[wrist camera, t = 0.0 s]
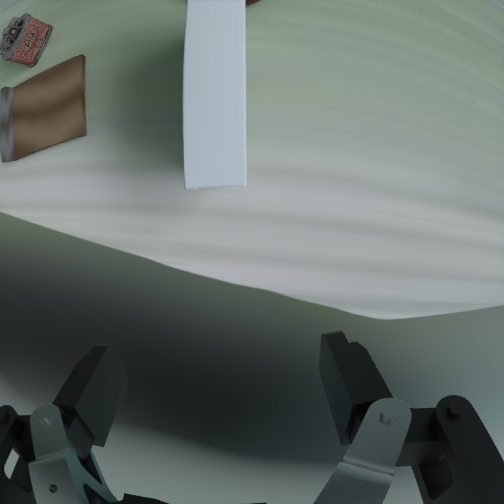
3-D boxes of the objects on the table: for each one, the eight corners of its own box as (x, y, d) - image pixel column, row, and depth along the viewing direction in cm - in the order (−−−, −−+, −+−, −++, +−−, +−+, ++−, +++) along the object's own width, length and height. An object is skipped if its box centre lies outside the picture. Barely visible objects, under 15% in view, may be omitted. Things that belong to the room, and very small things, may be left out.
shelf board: (12, 91, 29) (-1, 90, 25) (85, 56, 29) (73, 50, 25) (13, 161, 33) (0, 163, 30) (86, 134, 33) (73, 134, 30)
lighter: (44, 25, 25) (11, 10, 16) (56, 25, 26) (23, 8, 16) (25, 66, 27) (-12, 58, 18) (36, 67, 28) (-1, 57, 19)
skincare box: (245, 175, 36) (247, 190, 21) (203, 176, 36) (176, 192, 21) (244, 28, 29) (246, -36, 14) (203, 30, 29) (182, -31, 14)
